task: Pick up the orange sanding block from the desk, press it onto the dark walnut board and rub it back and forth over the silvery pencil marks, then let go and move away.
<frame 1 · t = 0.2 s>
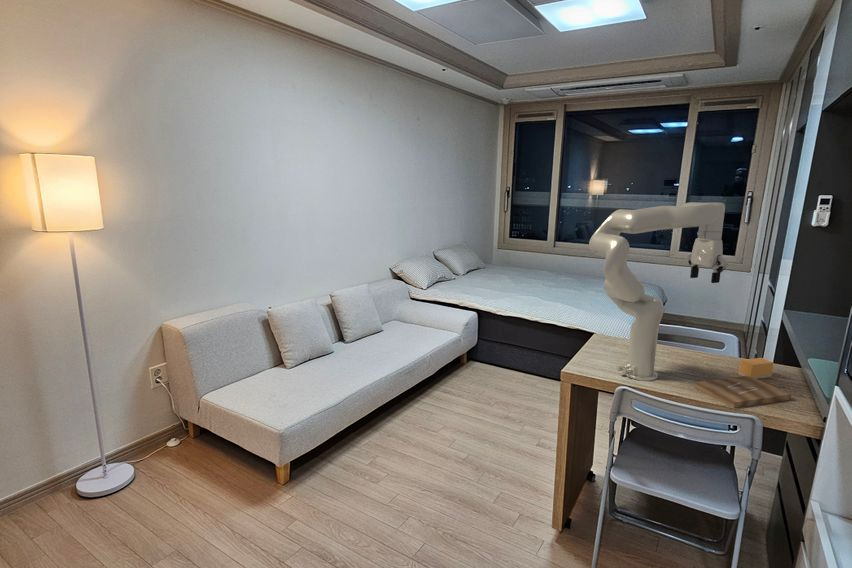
hand: (704, 280, 171), 36 cm above the table, tool pointing down, fingers open, 9 cm apart
sanding block: (754, 375, 171), on the table
walnut board: (741, 393, 156), on the table
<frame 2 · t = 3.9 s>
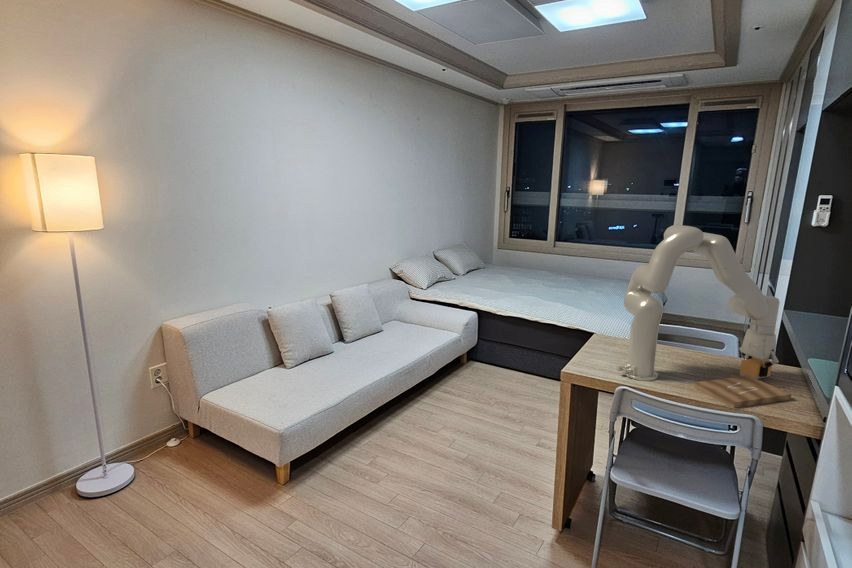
hand: (755, 372, 171), 1 cm above the table, tool pointing down, fingers closed on sanding block, 5 cm apart
sanding block: (754, 375, 171), on the table, touching gripper
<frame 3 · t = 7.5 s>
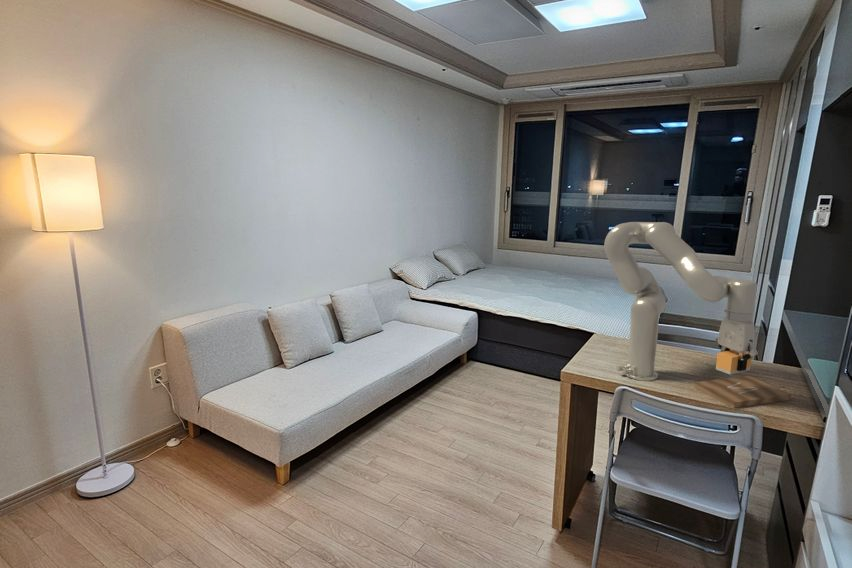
hand: (733, 366, 152), 11 cm above the table, tool pointing down, fingers closed on sanding block, 5 cm apart
sanding block: (732, 369, 153), point 10 cm above the table, touching gripper
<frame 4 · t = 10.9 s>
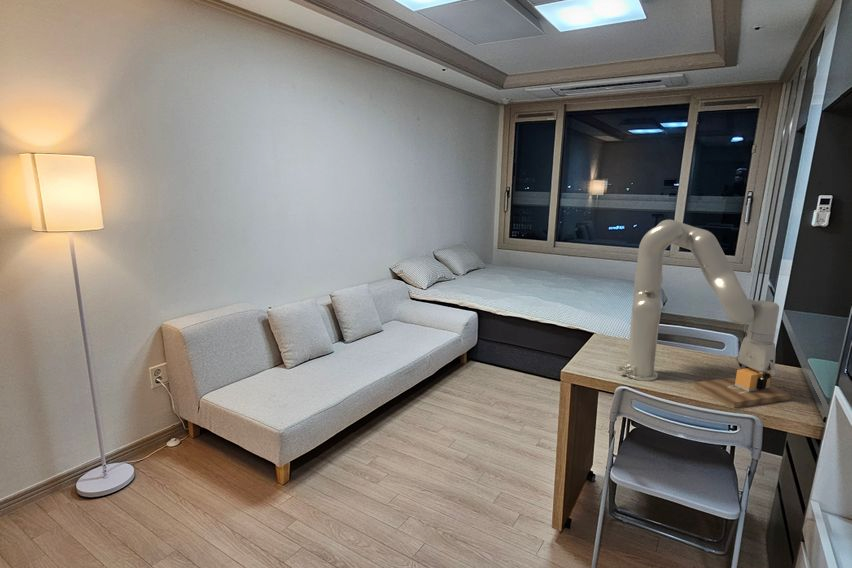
hand: (752, 384, 157), 3 cm above the table, tool pointing down, fingers closed on sanding block, 5 cm apart
sanding block: (751, 386, 157), point 2 cm above the table, touching gripper
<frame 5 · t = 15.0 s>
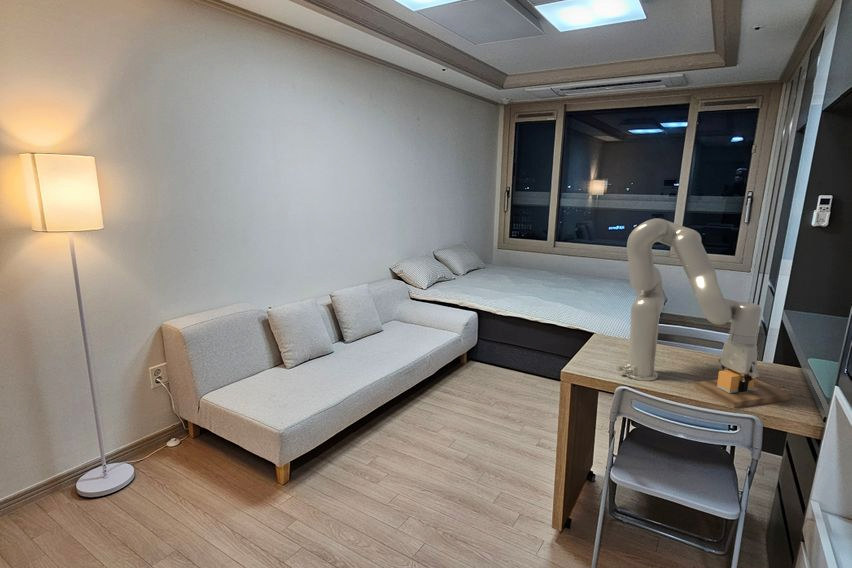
hand: (735, 387, 155), 3 cm above the table, tool pointing down, fingers closed on sanding block, 5 cm apart
sanding block: (734, 388, 155), point 2 cm above the table, touching gripper
when the fingers open (3 cm above the table, at t = 18.4 s): sanding block stays where it is, resting on walnut board.
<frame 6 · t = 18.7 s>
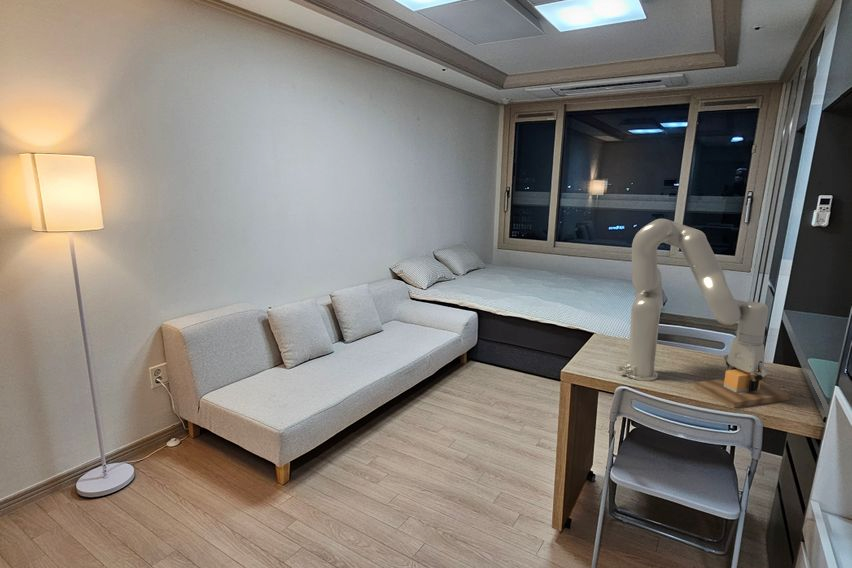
hand: (742, 385, 156), 3 cm above the table, tool pointing down, fingers open, 7 cm apart
sanding block: (741, 387, 156), point 2 cm above the table, touching walnut board
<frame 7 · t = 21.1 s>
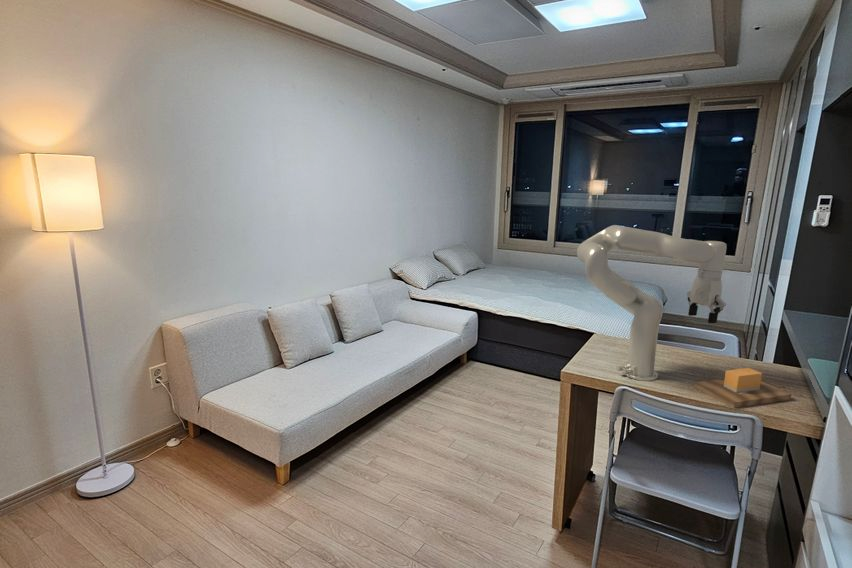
hand: (701, 319, 167), 23 cm above the table, tool pointing down, fingers open, 9 cm apart
nothing on the table moved.
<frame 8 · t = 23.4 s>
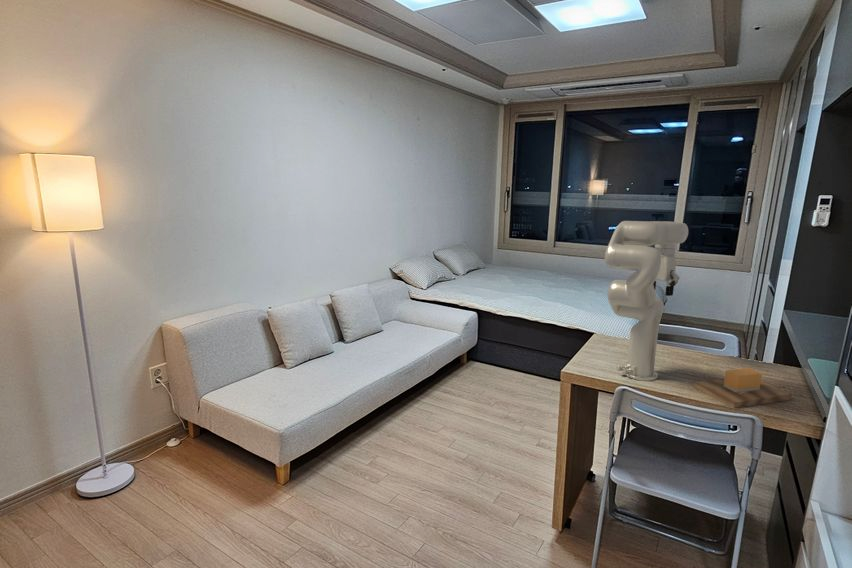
hand: (660, 292, 184), 28 cm above the table, tool pointing down, fingers open, 9 cm apart
nothing on the table moved.
at the end: sanding block inside the target area on the walnut board (0.1 cm from its centre), point 2.0 cm above the walnut board's base; sanding block touching walnut board; the gripper is holding nothing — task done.
